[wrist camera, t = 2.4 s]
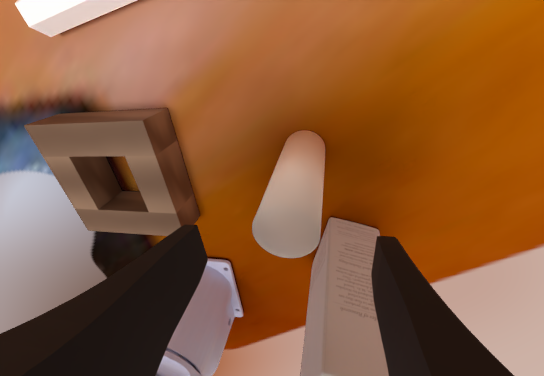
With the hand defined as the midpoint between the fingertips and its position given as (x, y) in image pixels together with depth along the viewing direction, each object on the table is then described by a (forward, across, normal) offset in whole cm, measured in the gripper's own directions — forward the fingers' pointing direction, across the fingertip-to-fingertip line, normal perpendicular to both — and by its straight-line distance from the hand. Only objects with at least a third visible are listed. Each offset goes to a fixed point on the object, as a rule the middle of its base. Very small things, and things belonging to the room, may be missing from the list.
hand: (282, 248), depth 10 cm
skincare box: (+10, -3, +9) cm, 14 cm away
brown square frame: (+10, +15, +2) cm, 18 cm away
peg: (+10, 0, 0) cm, 10 cm away
